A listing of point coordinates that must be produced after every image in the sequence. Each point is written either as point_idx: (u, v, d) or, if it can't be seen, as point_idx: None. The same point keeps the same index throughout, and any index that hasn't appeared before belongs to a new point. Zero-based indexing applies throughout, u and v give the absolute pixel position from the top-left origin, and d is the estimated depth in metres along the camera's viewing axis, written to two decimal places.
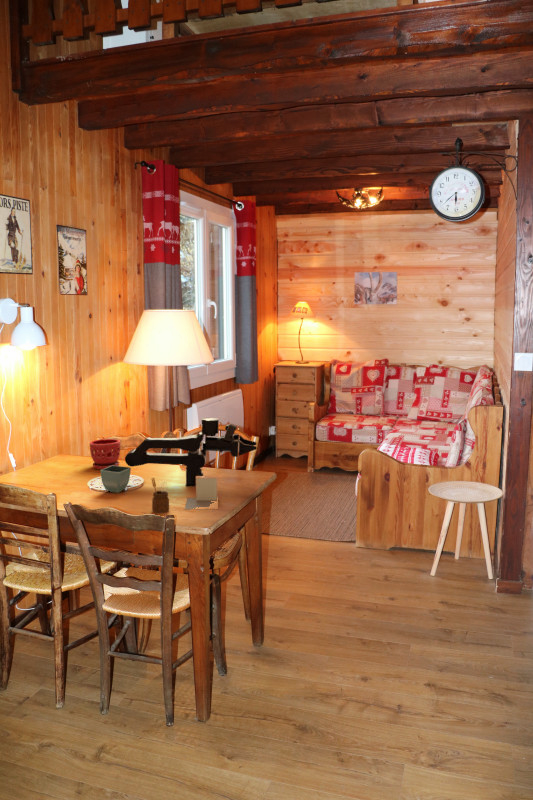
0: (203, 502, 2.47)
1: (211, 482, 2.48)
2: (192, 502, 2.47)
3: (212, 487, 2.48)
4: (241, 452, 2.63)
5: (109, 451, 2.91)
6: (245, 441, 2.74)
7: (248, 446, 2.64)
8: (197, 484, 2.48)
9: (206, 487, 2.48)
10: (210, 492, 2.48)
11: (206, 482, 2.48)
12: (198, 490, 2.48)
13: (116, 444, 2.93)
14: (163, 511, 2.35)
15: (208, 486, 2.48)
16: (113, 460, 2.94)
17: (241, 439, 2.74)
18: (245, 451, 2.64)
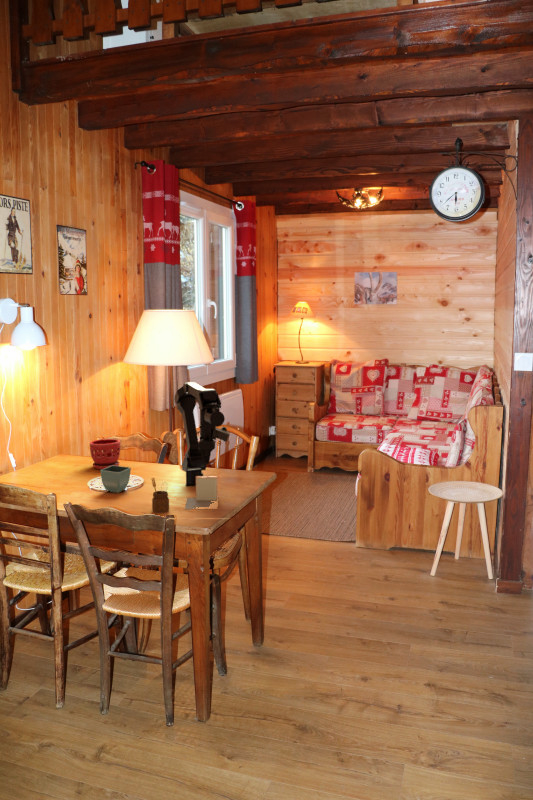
0: (203, 502, 2.47)
1: (211, 482, 2.48)
2: (192, 502, 2.47)
3: (212, 487, 2.48)
4: (202, 450, 2.50)
5: (109, 451, 2.91)
6: None
7: (208, 456, 2.51)
8: (197, 484, 2.48)
9: (206, 487, 2.48)
10: (210, 492, 2.48)
11: (206, 482, 2.48)
12: (198, 490, 2.48)
13: (116, 444, 2.93)
14: (163, 511, 2.35)
15: (208, 486, 2.48)
16: (113, 460, 2.94)
17: None
18: (203, 453, 2.51)
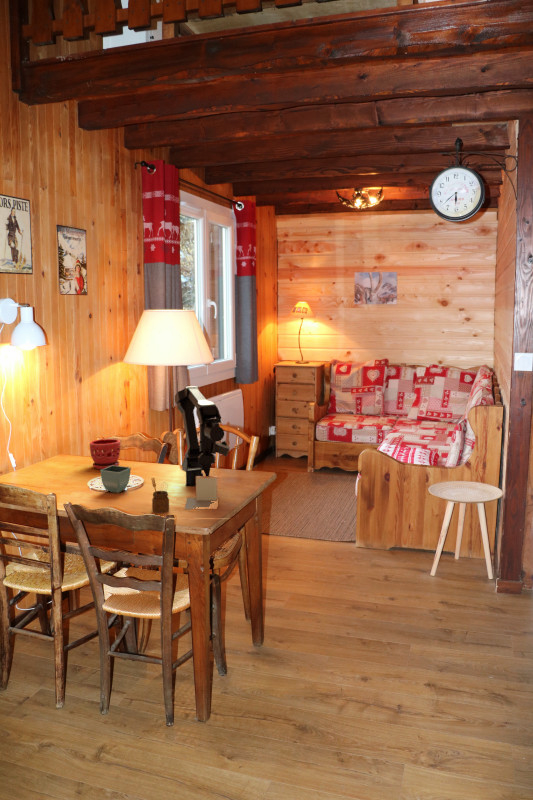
0: (203, 502, 2.47)
1: (211, 482, 2.48)
2: (192, 502, 2.47)
3: (212, 487, 2.48)
4: None
5: (109, 451, 2.91)
6: None
7: (209, 468, 2.55)
8: (197, 484, 2.48)
9: (206, 487, 2.48)
10: (210, 492, 2.48)
11: (206, 482, 2.48)
12: (198, 490, 2.48)
13: (116, 444, 2.93)
14: (163, 511, 2.35)
15: (208, 486, 2.48)
16: (113, 460, 2.94)
17: None
18: (203, 466, 2.54)
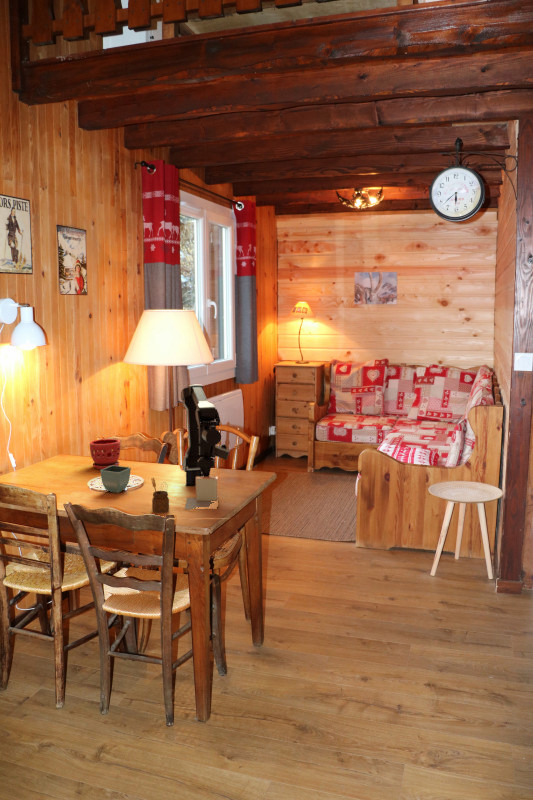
0: (203, 502, 2.47)
1: (211, 483, 2.47)
2: (192, 502, 2.47)
3: (212, 488, 2.48)
4: None
5: (109, 451, 2.91)
6: None
7: (208, 472, 2.48)
8: (197, 485, 2.47)
9: (206, 488, 2.47)
10: (210, 492, 2.48)
11: (206, 483, 2.47)
12: (198, 491, 2.48)
13: (116, 444, 2.93)
14: (163, 511, 2.35)
15: (208, 487, 2.47)
16: (113, 460, 2.94)
17: None
18: (203, 470, 2.48)
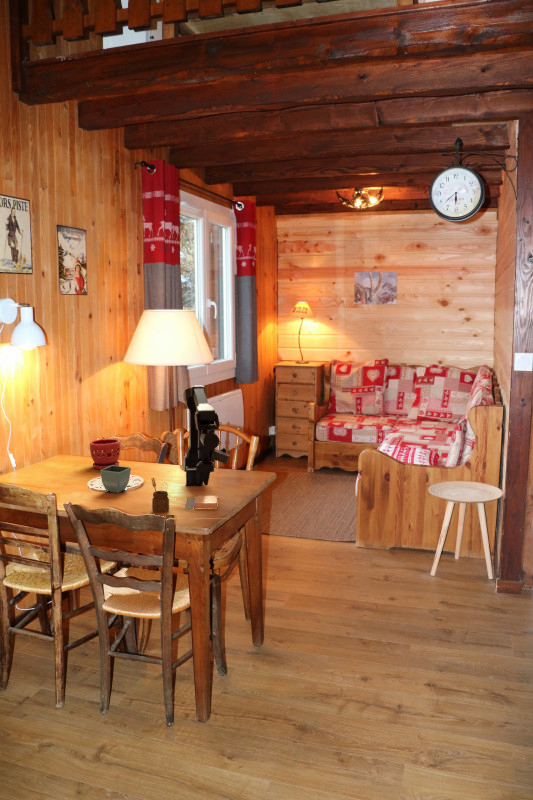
0: None
1: None
2: (192, 502, 2.47)
3: None
4: None
5: (109, 451, 2.91)
6: None
7: (207, 477, 2.42)
8: None
9: None
10: None
11: None
12: None
13: (116, 444, 2.93)
14: (163, 511, 2.35)
15: None
16: (113, 460, 2.94)
17: None
18: (202, 474, 2.42)
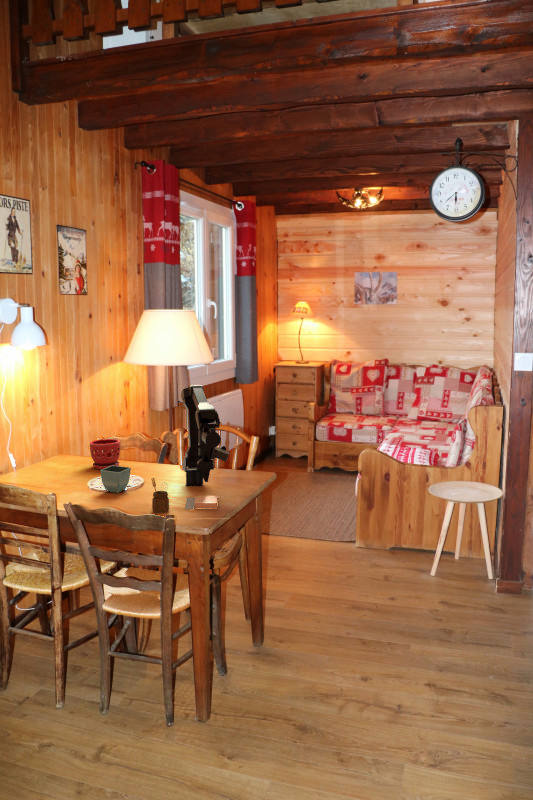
0: None
1: None
2: (192, 502, 2.47)
3: None
4: None
5: (109, 451, 2.91)
6: None
7: (208, 474, 2.48)
8: None
9: None
10: None
11: None
12: None
13: (116, 444, 2.93)
14: (163, 511, 2.35)
15: None
16: (113, 460, 2.94)
17: None
18: (202, 471, 2.48)
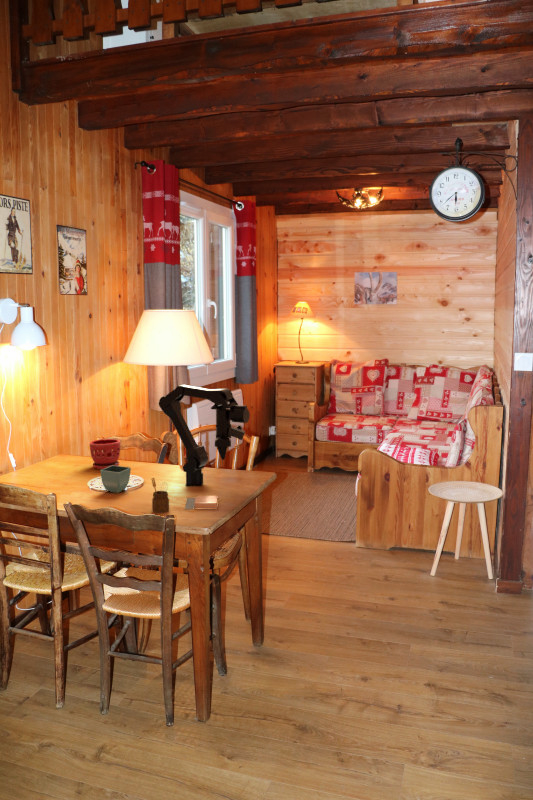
0: None
1: None
2: (192, 502, 2.47)
3: None
4: None
5: (109, 451, 2.91)
6: None
7: (224, 452, 2.62)
8: None
9: None
10: None
11: None
12: None
13: (116, 444, 2.93)
14: (163, 511, 2.35)
15: None
16: (113, 460, 2.94)
17: None
18: (219, 449, 2.62)
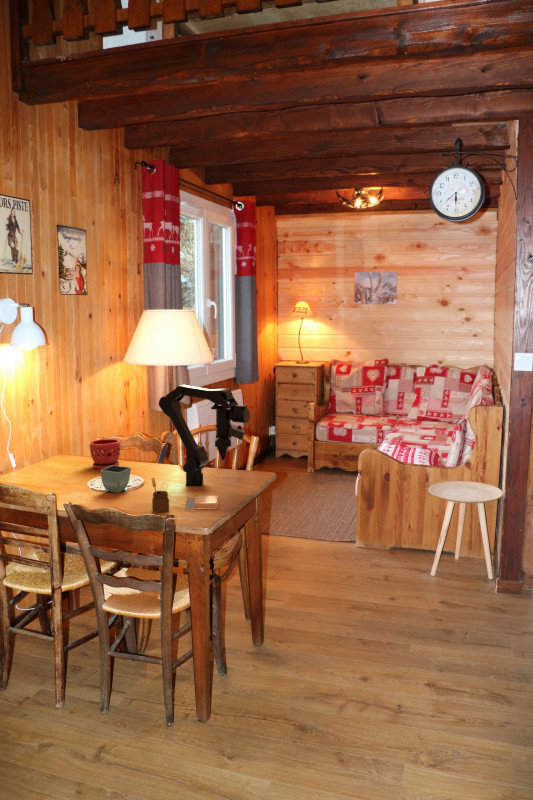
0: None
1: None
2: (192, 502, 2.47)
3: None
4: None
5: (109, 451, 2.91)
6: None
7: (224, 452, 2.63)
8: None
9: None
10: None
11: None
12: None
13: (116, 444, 2.93)
14: (163, 511, 2.35)
15: None
16: (113, 460, 2.94)
17: None
18: (219, 449, 2.62)
